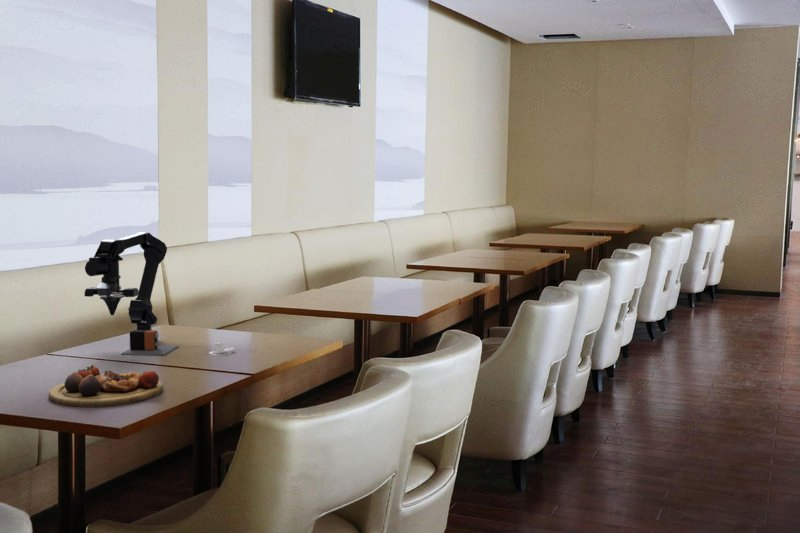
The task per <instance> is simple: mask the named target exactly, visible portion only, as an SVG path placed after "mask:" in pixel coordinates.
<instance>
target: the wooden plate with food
mask: <svg viewBox="0 0 800 533" xmlns="http://www.w3.org/2000/svg"><path fill="white" fill-rule="evenodd" d="M163 388H164V387H163V383H162V382H161V381H160V378H159V375H158V374H157V372H156V371H155V370H147V371H143V372H142V373H139V372H136V371H133V372H127V373H118V372H113V371H112V370H110V369H109V370H105V371H104V372H103V373H101V372H100V369H99V368H98V367H97V366H95V365H93V364H92V365H91V366H86V369H85V368H84V369H78V370H77V372H72V373H71V374H69V375H68V376H67V377H66V379H65V381H64V382H62V383H60V384H57V385H56V386H53V387H52V388H51V389H50V390H49V392H48V398H49V399H50V401H51V402H54V403H56V404H58V405H63V406H67V407H68V406H69V407H80V408H82V407H83V408H99V407H101V408H102V407H103V408H104V407H112V406H113V407H114V406H121V405H127V404H133V403H138V402H142V401H146V400H148V399H152V398H154V397H156V396H157V395H159V394H160V393H161V392H162V391H163Z"/></svg>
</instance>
